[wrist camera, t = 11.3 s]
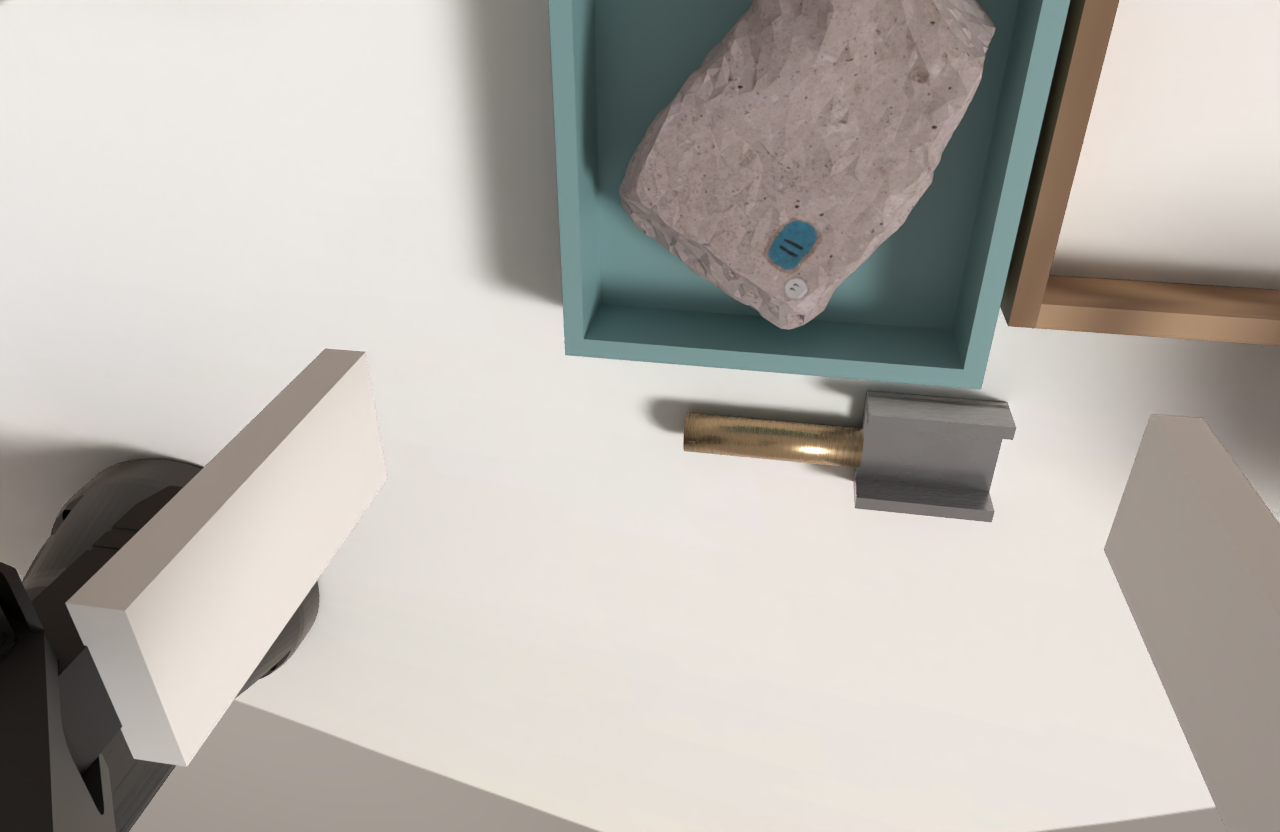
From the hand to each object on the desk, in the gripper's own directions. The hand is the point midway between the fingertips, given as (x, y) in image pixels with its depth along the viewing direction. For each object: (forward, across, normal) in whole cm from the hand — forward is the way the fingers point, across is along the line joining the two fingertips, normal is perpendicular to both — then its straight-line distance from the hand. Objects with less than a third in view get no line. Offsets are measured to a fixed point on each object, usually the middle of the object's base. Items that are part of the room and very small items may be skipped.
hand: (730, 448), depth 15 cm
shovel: (+23, +4, -14) cm, 27 cm away
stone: (+23, +1, 0) cm, 23 cm away
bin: (+23, 0, 0) cm, 23 cm away
